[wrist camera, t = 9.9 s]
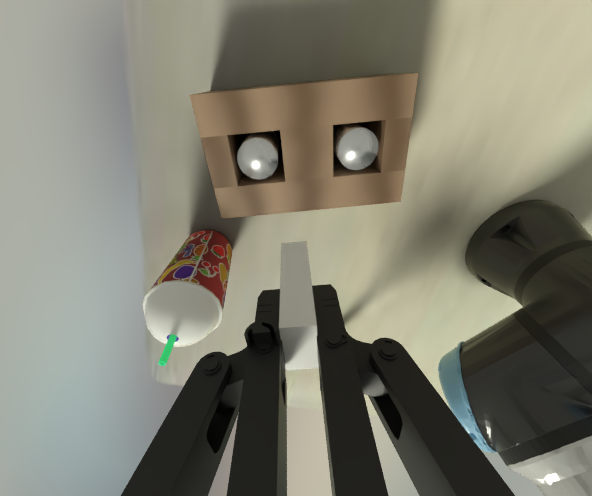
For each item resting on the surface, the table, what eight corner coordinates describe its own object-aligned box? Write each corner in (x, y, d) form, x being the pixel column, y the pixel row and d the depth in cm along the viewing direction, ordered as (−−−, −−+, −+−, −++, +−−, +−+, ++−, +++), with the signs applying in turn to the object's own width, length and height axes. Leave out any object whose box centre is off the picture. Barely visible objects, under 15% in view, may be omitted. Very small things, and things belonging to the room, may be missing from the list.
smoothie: (180, 217, 38) (101, 328, 21) (239, 224, 39) (209, 336, 22) (183, 264, 42) (120, 387, 26) (237, 270, 44) (209, 391, 27)
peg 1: (276, 124, 32) (275, 136, 25) (280, 158, 34) (280, 177, 28) (242, 127, 32) (233, 140, 25) (248, 161, 34) (241, 181, 28)
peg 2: (359, 116, 32) (380, 126, 25) (358, 150, 34) (376, 168, 28) (326, 119, 32) (338, 130, 25) (327, 154, 34) (337, 171, 28)
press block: (387, 74, 30) (418, 72, 23) (378, 178, 36) (400, 201, 30) (210, 91, 30) (189, 95, 23) (232, 192, 36) (221, 218, 30)
